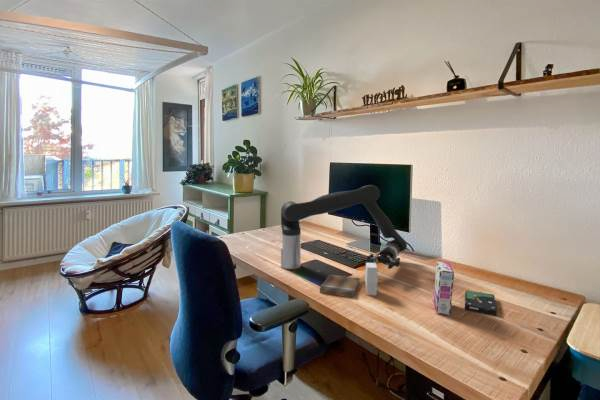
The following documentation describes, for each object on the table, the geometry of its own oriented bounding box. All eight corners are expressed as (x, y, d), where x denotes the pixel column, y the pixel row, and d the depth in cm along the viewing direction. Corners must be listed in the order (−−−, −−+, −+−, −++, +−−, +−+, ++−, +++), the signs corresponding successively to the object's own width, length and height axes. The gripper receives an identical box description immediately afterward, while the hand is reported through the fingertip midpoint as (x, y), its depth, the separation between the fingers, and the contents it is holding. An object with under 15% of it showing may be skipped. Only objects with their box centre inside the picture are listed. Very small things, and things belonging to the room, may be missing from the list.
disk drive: (496, 317, 116) (493, 300, 130) (497, 310, 116) (494, 293, 129) (464, 311, 121) (464, 295, 134) (465, 304, 121) (464, 288, 134)
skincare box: (364, 289, 139) (365, 262, 137) (374, 289, 138) (375, 262, 137) (366, 295, 133) (367, 267, 131) (376, 295, 132) (378, 267, 131)
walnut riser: (319, 292, 136) (320, 285, 135) (329, 278, 151) (329, 272, 150) (353, 297, 131) (353, 290, 131) (359, 282, 146) (359, 276, 146)
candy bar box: (451, 316, 116) (454, 272, 114) (436, 314, 118) (439, 270, 115) (446, 302, 127) (449, 262, 124) (433, 300, 128) (435, 260, 126)
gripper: (374, 245, 161) (364, 254, 147) (403, 249, 154) (396, 259, 140) (373, 259, 162) (363, 270, 148) (403, 264, 155) (395, 276, 141)
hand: (379, 265), depth 144 cm, fingers open, 8 cm apart
